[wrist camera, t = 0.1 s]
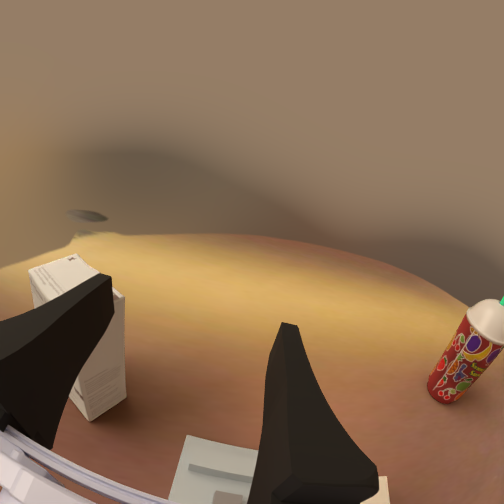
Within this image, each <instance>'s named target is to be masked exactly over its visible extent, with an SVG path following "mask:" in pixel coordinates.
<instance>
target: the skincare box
mask: <svg viewBox="0 0 504 504" xmlns="http://www.w3.org/2000/svg"><path fill="white" fill-rule="evenodd" d="M28 272H29V278H30V284H31V290H32V296H33V302H34V307H35V308H37V307H39V306H41V305H43V304H45V303H47V302H49V301H51V300H53V299H54V298H56V297H58V296H60V295H62V294H64V293H65V292H67V291H69V290H70V289H72V288H74V287H76V286H77V285H79V284H81V283H82V282H84V281H86V280H88V279H89V278H91V277H93V276H95V275H97V274H98V273H100V272H99V271H97V270H96V269H94V268H92V267H90V266H89V265H88V264H87V263H86V262H85V261H84V260H83V259H82V258H81V257H80V256H79V255H78V254H73V255H70V256H67V257H64V258H61V259H58V260H55V261H52V262H50V263H47V264H44V265H40V266H37V267H34V268H32V269H29V270H28ZM112 289H113V300H114V309H115V313H114V315H113V317H112V319H111V322H110V324H109V326H108V328H107V330H106V332H105V333H104V335H103V336H102V338H101V339H100V341H99V343H98V344H97V346H96V347H95V349H94V350H93V352H92V353H91V355H90V356H89V358H88V360H87V361H86V363H85V364H84V366H83V367H82V369H81V371H80V373H79V375H78V376H77V379H76V381H75V383H74V385H73V387H72V390H71V392H70V394H69V397H70V399H71V400H72V401H73V402H74V404H75V405H76V406H77V407H78V409H79V410H80V411H81V412H82V414H83V415H84V417H85V418H86V419H87V420H88V421H89V422H90V421H92V420H94V419H95V418H97V417H98V416H100V415H101V414H103V413H104V412H106V411H107V410H109V409H110V408H112V407H113V406H115V405H116V404H118V403H119V402H120V401H122V400H123V399H125V398H126V397H127V395H126V380H125V347H124V315H125V297H124V296H123V295H122V294H121V293H119V292H118V291H117V290H116V289H114V288H113V287H112Z"/></svg>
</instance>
